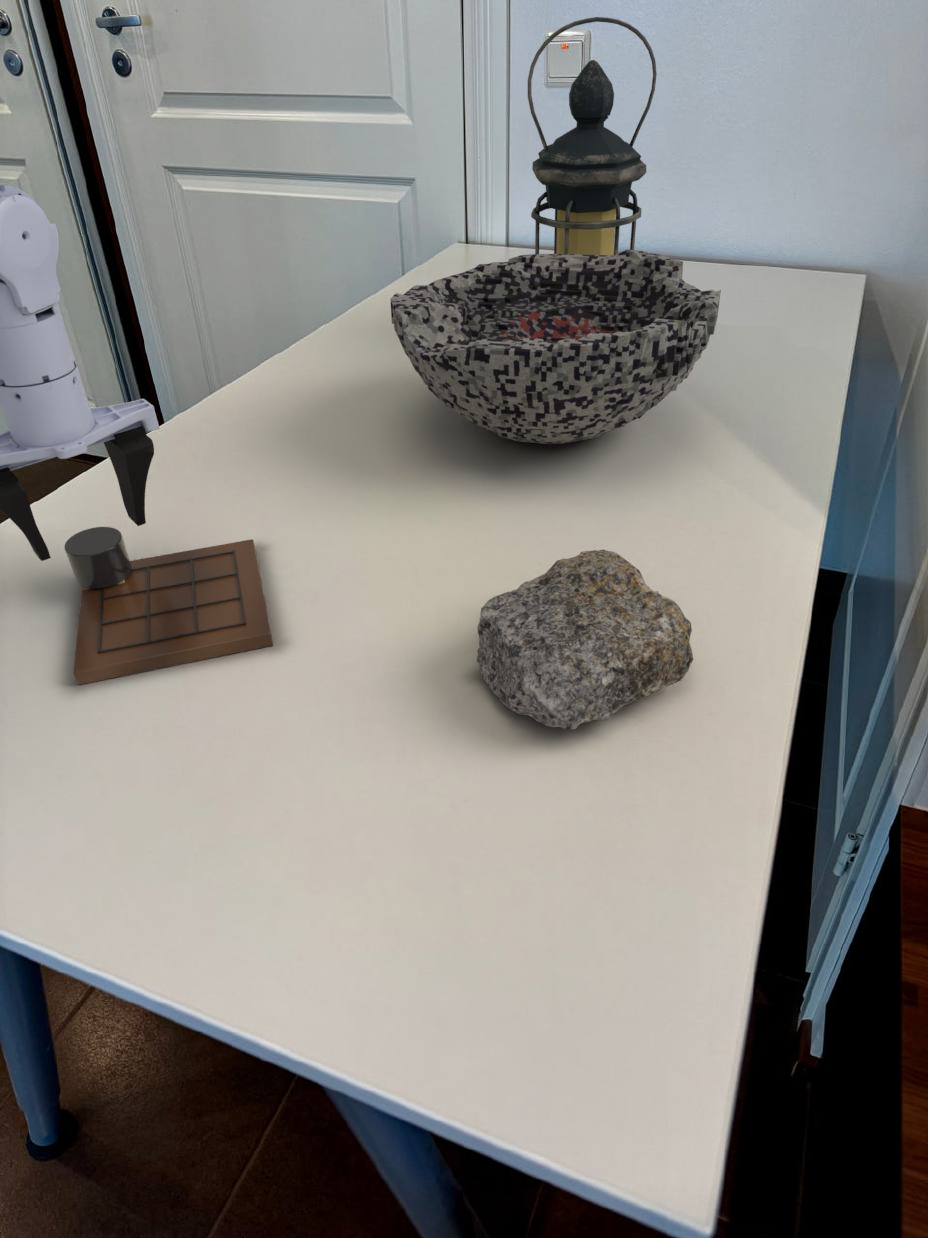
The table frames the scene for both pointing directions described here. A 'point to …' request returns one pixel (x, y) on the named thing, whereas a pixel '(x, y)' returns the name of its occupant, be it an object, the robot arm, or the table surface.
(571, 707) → the rock
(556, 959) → the table surface
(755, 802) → the table surface
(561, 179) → the lantern
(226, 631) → the board
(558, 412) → the bowl
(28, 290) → the robot arm
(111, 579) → the dark grey cylinder
